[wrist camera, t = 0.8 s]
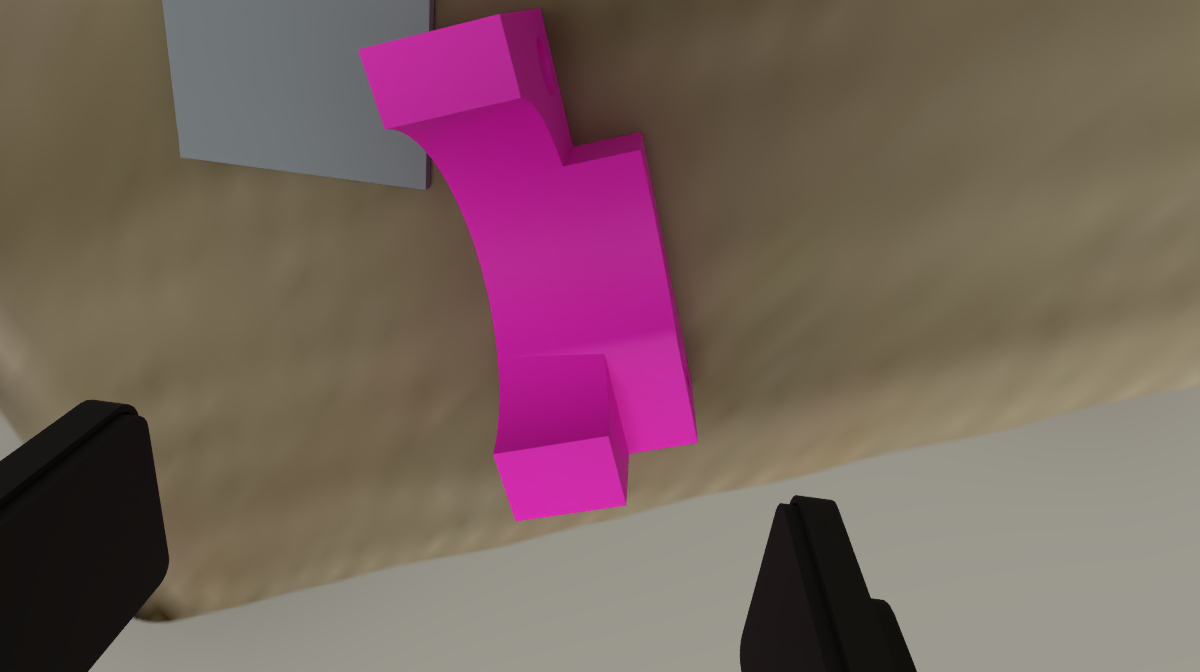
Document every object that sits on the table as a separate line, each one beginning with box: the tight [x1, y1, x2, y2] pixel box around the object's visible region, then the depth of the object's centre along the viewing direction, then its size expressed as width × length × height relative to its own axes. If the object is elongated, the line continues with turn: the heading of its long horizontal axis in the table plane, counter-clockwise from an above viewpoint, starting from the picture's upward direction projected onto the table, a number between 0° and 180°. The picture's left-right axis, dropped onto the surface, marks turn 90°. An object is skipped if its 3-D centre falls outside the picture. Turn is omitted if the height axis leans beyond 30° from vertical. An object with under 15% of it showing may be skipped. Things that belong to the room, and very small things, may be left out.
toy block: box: [358, 8, 698, 521], centre depth 25 cm, size 15×6×8 cm, turn 13°
